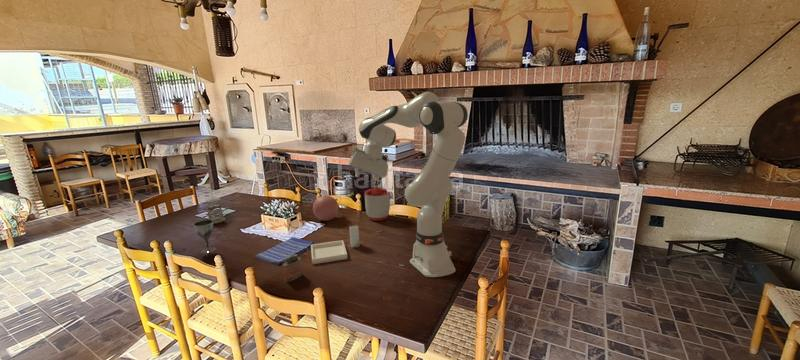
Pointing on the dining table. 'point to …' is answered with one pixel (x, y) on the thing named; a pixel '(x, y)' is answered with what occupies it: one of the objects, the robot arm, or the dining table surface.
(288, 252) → the dish towel
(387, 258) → the dining table surface
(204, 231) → the wine glass
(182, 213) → the dining table surface
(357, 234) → the block
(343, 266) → the dining table surface
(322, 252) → the tray
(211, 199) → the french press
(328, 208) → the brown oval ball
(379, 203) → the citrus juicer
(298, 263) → the lighter
